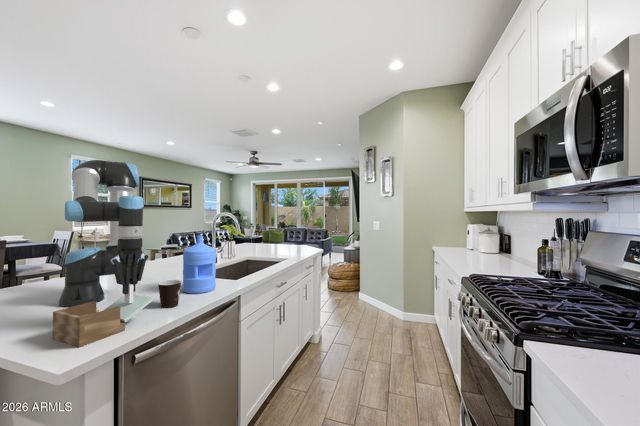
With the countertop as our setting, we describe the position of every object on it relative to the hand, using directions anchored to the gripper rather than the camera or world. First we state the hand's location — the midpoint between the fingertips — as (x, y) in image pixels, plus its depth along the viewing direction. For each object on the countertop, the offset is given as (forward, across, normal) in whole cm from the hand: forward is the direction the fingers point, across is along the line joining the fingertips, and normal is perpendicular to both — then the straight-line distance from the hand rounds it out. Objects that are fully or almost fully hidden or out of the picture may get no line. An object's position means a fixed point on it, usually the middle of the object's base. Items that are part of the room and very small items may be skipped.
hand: (128, 302), depth 101 cm
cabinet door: (+5, -6, 0) cm, 7 cm away
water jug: (+7, +41, +8) cm, 43 cm away
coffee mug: (+7, +20, +1) cm, 21 cm away
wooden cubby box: (+7, -12, 0) cm, 14 cm away
